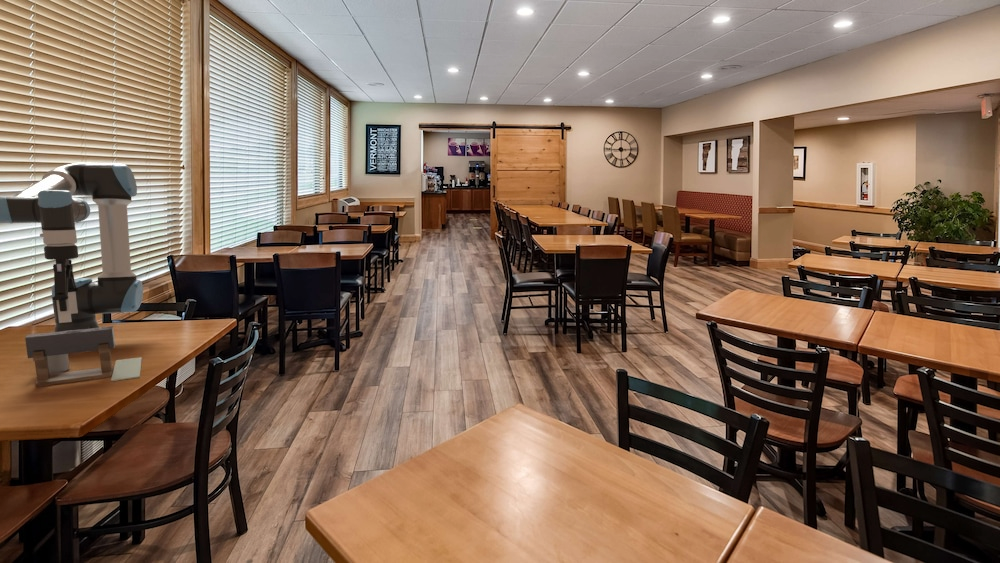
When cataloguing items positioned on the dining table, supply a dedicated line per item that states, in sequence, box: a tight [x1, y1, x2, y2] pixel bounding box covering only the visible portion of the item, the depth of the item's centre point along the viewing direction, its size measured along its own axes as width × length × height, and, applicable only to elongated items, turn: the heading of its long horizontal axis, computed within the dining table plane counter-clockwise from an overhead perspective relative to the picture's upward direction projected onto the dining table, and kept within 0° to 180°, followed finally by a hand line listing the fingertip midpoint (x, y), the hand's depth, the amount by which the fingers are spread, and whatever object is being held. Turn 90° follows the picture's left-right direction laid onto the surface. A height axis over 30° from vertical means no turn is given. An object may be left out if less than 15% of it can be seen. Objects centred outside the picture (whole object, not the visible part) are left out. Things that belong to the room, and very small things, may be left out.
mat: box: [110, 356, 143, 382], centre depth 171 cm, size 22×7×1 cm, turn 32°
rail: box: [24, 326, 116, 359], centre depth 161 cm, size 4×20×6 cm, turn 122°
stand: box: [32, 344, 114, 388], centre depth 162 cm, size 8×18×10 cm, turn 122°
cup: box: [47, 354, 70, 374], centre depth 168 cm, size 7×10×9 cm
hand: (68, 317), depth 159 cm, fingers open, 13 cm apart
